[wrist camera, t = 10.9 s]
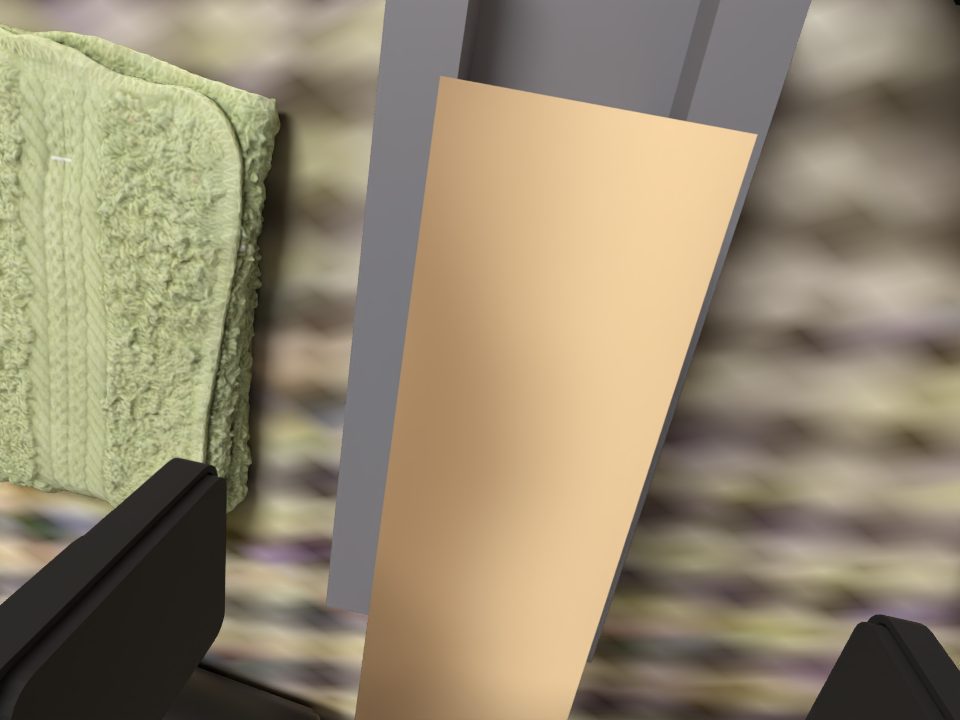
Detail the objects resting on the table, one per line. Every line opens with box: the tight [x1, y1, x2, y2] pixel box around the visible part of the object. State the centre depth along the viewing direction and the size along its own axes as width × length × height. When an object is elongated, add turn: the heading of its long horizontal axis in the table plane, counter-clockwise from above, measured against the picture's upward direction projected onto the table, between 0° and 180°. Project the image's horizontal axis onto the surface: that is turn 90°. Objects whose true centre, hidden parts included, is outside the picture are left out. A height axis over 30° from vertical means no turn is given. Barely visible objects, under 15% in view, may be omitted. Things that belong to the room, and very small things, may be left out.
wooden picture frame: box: [355, 76, 757, 720], centre depth 15 cm, size 4×14×11 cm, turn 170°
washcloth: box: [0, 23, 280, 516], centre depth 22 cm, size 13×18×3 cm
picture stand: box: [326, 0, 811, 662], centre depth 20 cm, size 10×22×4 cm, turn 170°
